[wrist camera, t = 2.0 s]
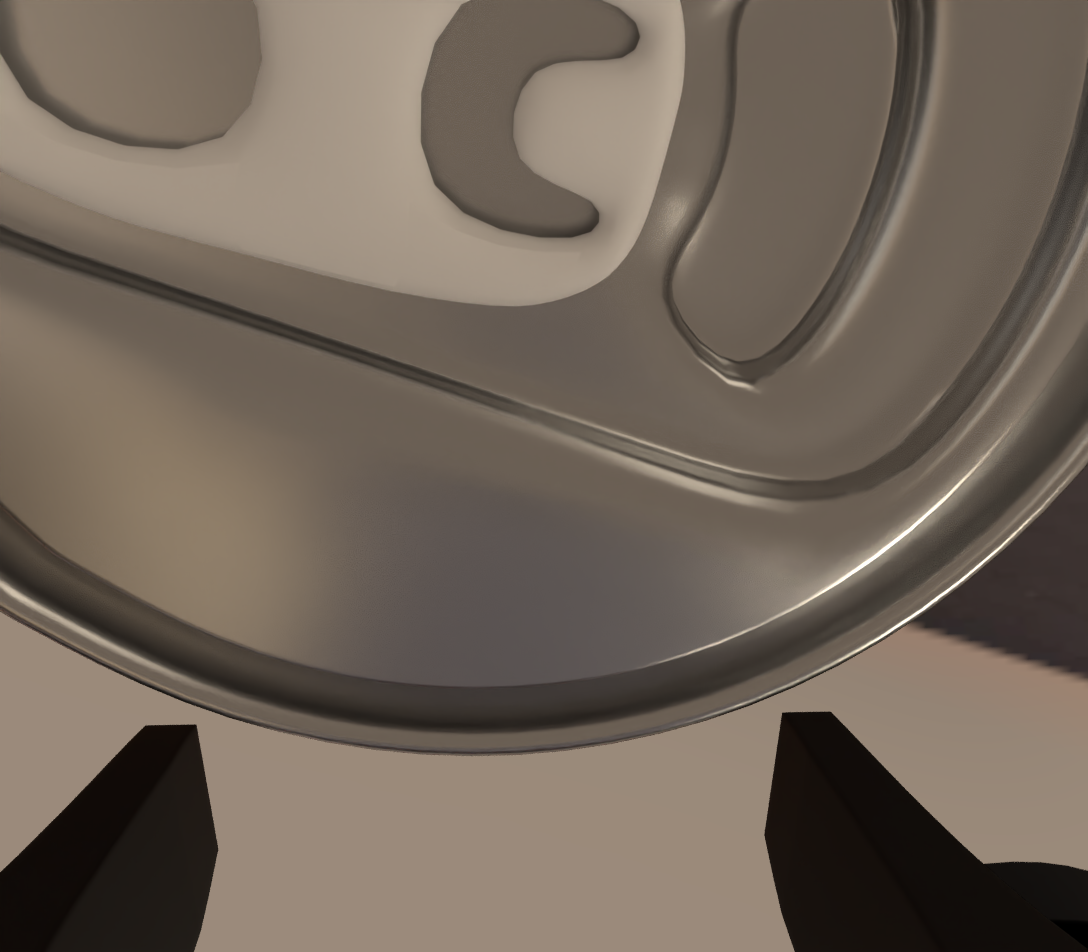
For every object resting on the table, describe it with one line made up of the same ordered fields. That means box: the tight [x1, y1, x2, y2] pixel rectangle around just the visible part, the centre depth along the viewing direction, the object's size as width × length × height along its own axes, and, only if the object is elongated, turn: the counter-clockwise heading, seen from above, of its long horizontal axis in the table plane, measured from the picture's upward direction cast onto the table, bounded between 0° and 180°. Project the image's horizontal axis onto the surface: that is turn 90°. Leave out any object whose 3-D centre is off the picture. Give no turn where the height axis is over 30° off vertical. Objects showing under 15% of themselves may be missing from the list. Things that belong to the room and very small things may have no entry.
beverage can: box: [0, 0, 1088, 756], centre depth 8 cm, size 5×5×12 cm
